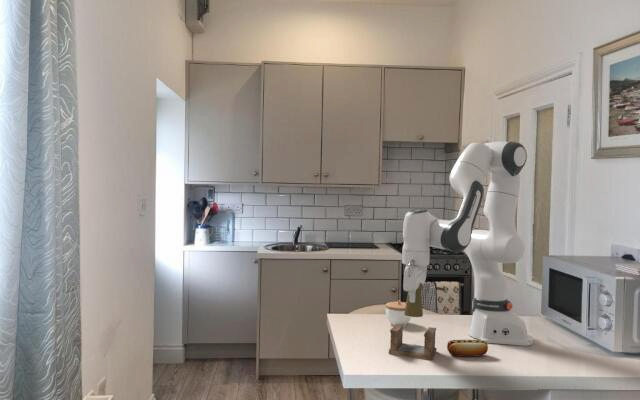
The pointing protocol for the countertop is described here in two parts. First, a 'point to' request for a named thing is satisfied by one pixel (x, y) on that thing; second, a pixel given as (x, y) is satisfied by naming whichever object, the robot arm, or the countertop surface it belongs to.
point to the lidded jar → (397, 313)
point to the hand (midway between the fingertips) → (414, 300)
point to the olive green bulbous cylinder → (414, 304)
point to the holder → (409, 349)
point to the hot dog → (467, 347)
